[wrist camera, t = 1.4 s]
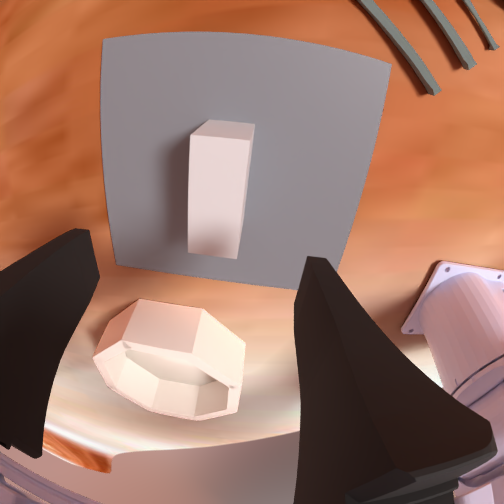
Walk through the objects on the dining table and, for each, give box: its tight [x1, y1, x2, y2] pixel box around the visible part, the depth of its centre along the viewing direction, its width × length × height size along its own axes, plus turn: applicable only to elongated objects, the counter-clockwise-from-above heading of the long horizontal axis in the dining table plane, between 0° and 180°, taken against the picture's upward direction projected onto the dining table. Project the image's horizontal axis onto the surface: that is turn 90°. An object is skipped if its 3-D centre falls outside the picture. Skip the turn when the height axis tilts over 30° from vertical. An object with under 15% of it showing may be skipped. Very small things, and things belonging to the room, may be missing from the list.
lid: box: [100, 32, 392, 290], centre depth 15 cm, size 16×16×5 cm
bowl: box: [92, 299, 246, 421], centre depth 25 cm, size 13×13×4 cm
